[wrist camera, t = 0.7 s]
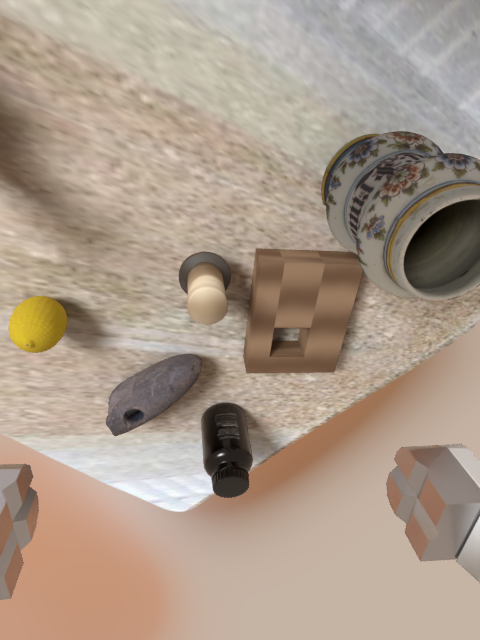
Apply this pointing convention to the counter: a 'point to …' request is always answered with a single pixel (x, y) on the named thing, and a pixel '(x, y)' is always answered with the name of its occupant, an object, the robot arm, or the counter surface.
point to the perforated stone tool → (151, 392)
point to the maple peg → (205, 286)
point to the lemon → (37, 324)
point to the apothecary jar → (407, 214)
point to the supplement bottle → (226, 449)
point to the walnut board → (300, 309)
